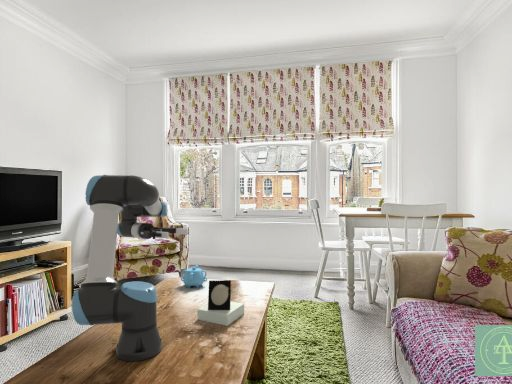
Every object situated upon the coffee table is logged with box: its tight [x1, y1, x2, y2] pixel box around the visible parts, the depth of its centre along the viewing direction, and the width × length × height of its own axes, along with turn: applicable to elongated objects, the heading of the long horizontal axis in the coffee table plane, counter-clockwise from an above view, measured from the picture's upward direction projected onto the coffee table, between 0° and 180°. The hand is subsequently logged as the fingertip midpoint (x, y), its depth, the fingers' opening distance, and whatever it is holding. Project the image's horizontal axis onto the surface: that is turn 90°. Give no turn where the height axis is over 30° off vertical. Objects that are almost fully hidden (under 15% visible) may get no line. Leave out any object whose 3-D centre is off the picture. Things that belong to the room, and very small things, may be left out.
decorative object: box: [207, 280, 232, 310], centre depth 146 cm, size 12×10×10 cm
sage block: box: [196, 300, 245, 327], centre depth 147 cm, size 15×15×5 cm
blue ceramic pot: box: [180, 264, 208, 288], centre depth 194 cm, size 13×14×11 cm
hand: (178, 233), depth 152 cm, fingers open, 13 cm apart
